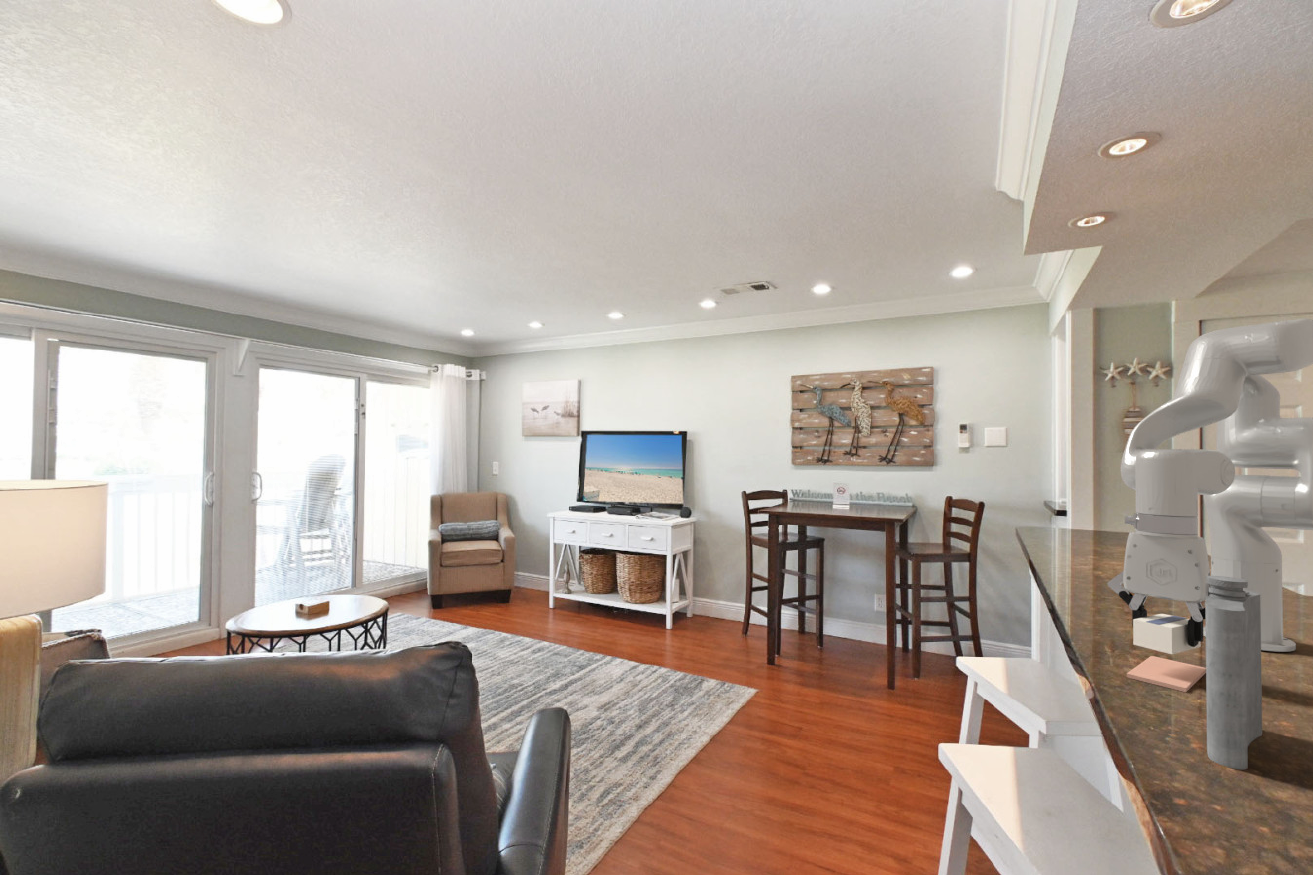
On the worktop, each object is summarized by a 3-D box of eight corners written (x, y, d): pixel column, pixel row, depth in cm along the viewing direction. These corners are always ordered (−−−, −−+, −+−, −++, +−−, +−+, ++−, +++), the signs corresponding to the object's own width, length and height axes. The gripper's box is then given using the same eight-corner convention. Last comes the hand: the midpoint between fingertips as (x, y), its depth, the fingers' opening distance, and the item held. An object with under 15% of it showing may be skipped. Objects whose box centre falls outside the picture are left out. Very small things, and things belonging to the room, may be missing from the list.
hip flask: (1245, 772, 63) (1243, 589, 64) (1195, 757, 67) (1193, 582, 67) (1263, 731, 73) (1261, 572, 74) (1219, 719, 76) (1217, 567, 77)
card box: (1133, 644, 93) (1133, 618, 93) (1162, 637, 96) (1162, 612, 97) (1172, 654, 88) (1171, 627, 88) (1200, 646, 92) (1200, 620, 92)
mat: (1151, 659, 99) (1151, 655, 99) (1206, 671, 94) (1206, 668, 94) (1126, 677, 91) (1126, 673, 91) (1186, 692, 85) (1186, 688, 85)
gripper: (1093, 521, 97) (1094, 629, 97) (1236, 534, 84) (1238, 660, 83) (1107, 519, 102) (1108, 622, 101) (1245, 530, 88) (1247, 650, 88)
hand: (1166, 638), depth 92 cm, fingers closed on card box, 5 cm apart
